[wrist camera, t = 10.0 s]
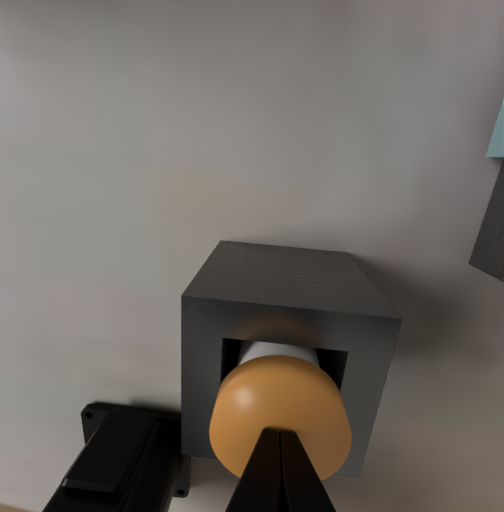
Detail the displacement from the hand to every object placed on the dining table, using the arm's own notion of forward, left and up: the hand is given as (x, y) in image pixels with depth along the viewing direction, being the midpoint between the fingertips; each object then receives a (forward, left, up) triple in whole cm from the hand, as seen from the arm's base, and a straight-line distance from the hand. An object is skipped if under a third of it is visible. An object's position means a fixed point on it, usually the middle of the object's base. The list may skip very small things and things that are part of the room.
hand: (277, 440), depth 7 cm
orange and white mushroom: (0, 0, -8) cm, 8 cm away
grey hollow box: (0, 0, -8) cm, 8 cm away
